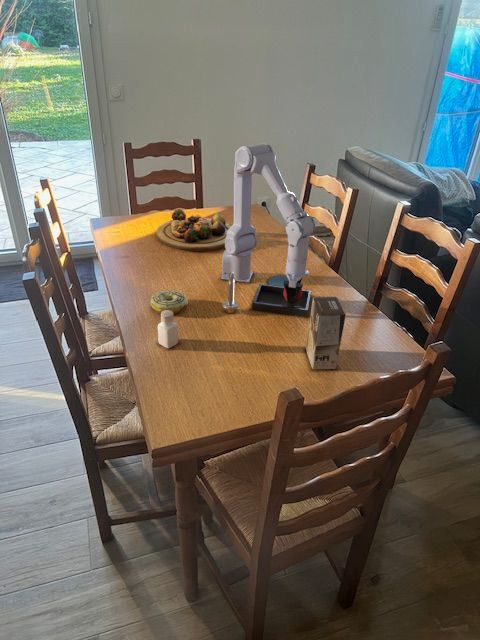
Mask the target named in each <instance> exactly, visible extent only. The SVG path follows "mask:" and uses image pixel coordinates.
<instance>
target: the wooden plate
mask: <svg viewBox="0 0 480 640" xmlns="http://www.w3.org/2000/svg"><path fill="white" fill-rule="evenodd" d="M231 226H232V225H231V224H229V223H227V221H226V218H225V217H224V216H223V215H222V214H221V213H219V212H215V213H214V214H213V216H212V217H211V218H210V217H202V216H201V215H199V214H195V215H194V214H192V215H191V216H189V217H187V214H186V212H185V211H184V210H183V209H181V208H176V209H175V210H174V211H173V212H172V214H171V220H168V221H166V222H164V223H162V224H160V225H159V226H158V227H157V230H156V232H155V234H156V237H157V239H158V240H159V242H161V243H162V244H163V245H165V246H168V247H171V248H174V249H178V250H183V251H190V252H191V251H192V252H193V251H194V252H204V251H213V250H218V249H219V250H220V249H223V248H225V239H226V236H227V231H228V229H229V228H230V227H231Z"/></svg>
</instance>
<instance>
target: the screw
mask: <svg viewBox="0 0 480 640" xmlns="http://www.w3.org/2000/svg"><path fill="white" fill-rule="evenodd" d="M233 278H234V273H233V272H230V273H229V280H227V294H226V295H227V297H226V298H227V300H225V301H223V302H222V304H221V306H222V308H223V309H224V310H225V312H226V313H228V314H232V313H233V314H234V312H235V310H237V309H238V308H239V303H238V302H237V301H235V300H234V299H235V298H234V297H235V281H234V279H233Z"/></svg>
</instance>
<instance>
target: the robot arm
mask: <svg viewBox="0 0 480 640" xmlns="http://www.w3.org/2000/svg"><path fill="white" fill-rule="evenodd" d="M276 157H277V155H276V153H275V151H274V150H273V147H272V146H271V144H270V143H268V142H263V143H259V144H252V145H243V146H240V147H238V149H237V150H236V151H235V152H234V167H233V223H232V225H231V227H230V228H229V229H228V231H227V236H226V239H225V247H224V248H225V250H224V251H223V254H222V260H221V277H220V278H221V280H226V281H228V280H229V273H230V272H233V273H234V278H233V279H234V282H240V283H247V284H249V283H250V281H251V279H252V276H253V274H254V271H252V270H251V269H252V268H251V267H252V254H253V253H254V249H255V248H256V247H257V245H258V237H257V233H256V228H255V226H253V225H252V223H251V222H252V221H251V220H252V188H253V187H252V186H253V185H252V183H253V175H254V174H257V175H261V176H263V178H264V180H265V181H266V182H267V184H268V185H269V187H270V188H271V190H272V191H273V194H274V195H275V196H276V202H275V204H276V206H277V208H278V210H279V212H280V214H281V216H282V218H283V220H284V221H285V223H286V226H285V232H286V235H287V242H288V243H287V244H288V246H287V257H286V264H285V265H286V266H285V270H284V274H285V276H286V277H287V278H288V280H289V281H285V280H284V283H283V285H284V288H285V290H286V294H287V302H288V303H292V304H294V303H295V301H296V298H297V295H298V293H299V291H300V290H301V288H302V289H303V286H304V285H303V283H302V280H303V279H304V277H305V276H306V277H308V276H310V271H309V270H306V269H307V261H308V254H309V247H310V246H309V245H310V239H311V235H312V234H314V233H315V230H316V223H315V220H314V218H313V217H312V215H310V214H308V213H307V212H306V211H304V209H303V207H302V206H301V203H300V202H299V200H298V197H297V195H296V194H295V193H294V192H292V191H291V192H290V191H288V188H287V186H286V184H285V181H284V179H283V177H282V175H281V173H280V170H279V168H278V166H277V164H276V160H277V159H276Z"/></svg>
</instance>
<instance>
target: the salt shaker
mask: <svg viewBox="0 0 480 640" xmlns="http://www.w3.org/2000/svg"><path fill="white" fill-rule="evenodd" d="M160 321H161V322H159V323H158V324H157V340H158V344H159V345H161V346H162V347H163V348H166V349H170V348H172V347H174V346H176V345H178V343H179V328H178V327H179V326H178V324H177V323H176V321H174V314H173V312H172V311H170V310H165V311H162V312H161V313H160Z"/></svg>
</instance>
